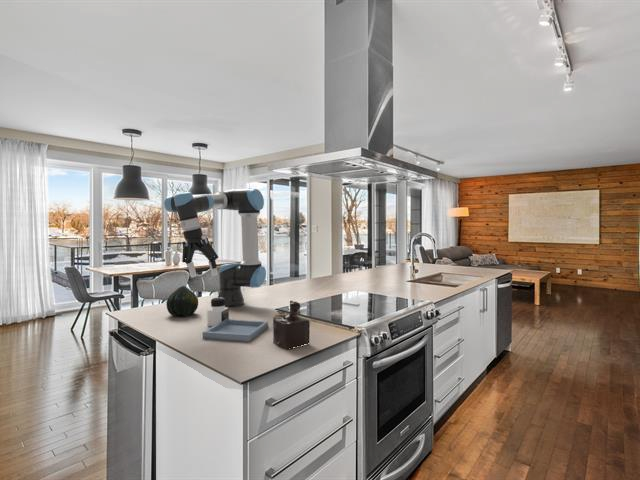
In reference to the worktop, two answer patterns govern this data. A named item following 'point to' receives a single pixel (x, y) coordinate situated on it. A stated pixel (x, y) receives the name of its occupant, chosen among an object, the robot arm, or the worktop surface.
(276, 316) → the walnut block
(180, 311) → the squash
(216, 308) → the medicine bottle
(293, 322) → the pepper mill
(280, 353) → the worktop surface
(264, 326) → the tray
